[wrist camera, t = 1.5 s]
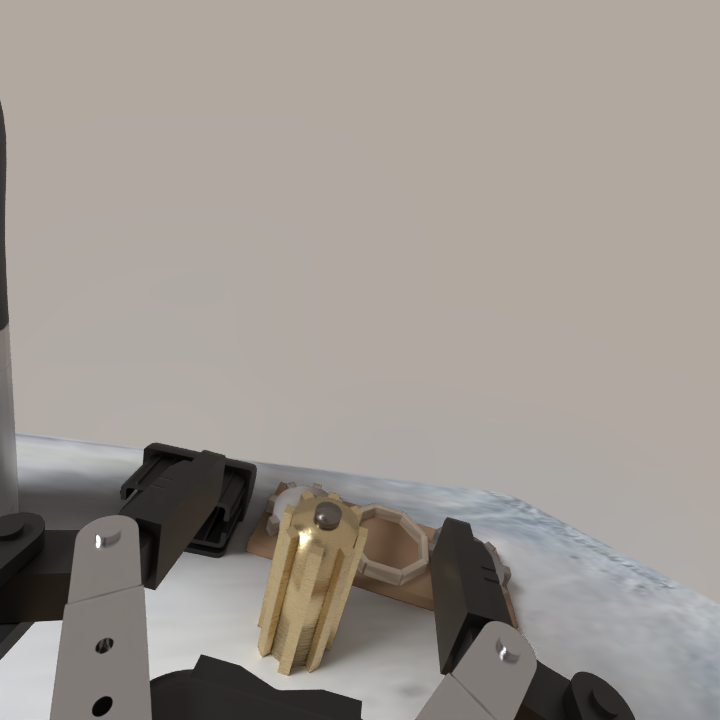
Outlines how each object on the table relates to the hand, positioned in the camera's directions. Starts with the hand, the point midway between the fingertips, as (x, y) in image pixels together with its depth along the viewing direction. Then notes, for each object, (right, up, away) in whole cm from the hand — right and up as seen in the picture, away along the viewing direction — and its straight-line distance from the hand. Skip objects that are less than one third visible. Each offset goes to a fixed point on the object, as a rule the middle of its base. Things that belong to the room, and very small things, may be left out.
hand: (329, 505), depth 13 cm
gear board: (+3, -15, +25) cm, 29 cm away
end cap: (-15, -11, +23) cm, 30 cm away
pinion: (-4, -16, +15) cm, 22 cm away
